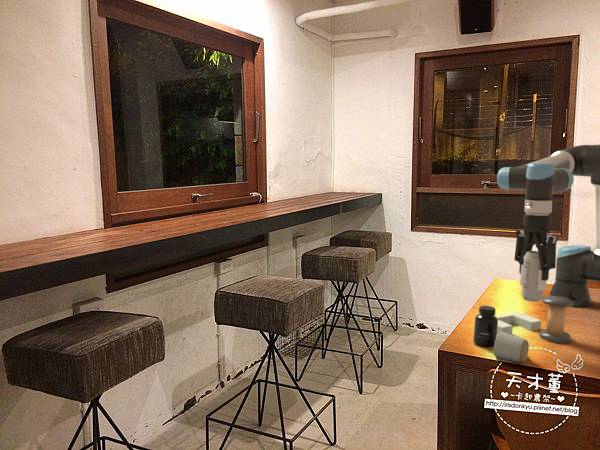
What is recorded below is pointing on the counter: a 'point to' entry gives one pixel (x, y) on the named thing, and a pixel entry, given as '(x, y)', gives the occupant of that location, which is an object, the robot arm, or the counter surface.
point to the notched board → (516, 322)
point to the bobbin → (556, 319)
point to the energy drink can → (531, 277)
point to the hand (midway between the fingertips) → (532, 287)
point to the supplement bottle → (485, 327)
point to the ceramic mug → (511, 347)
